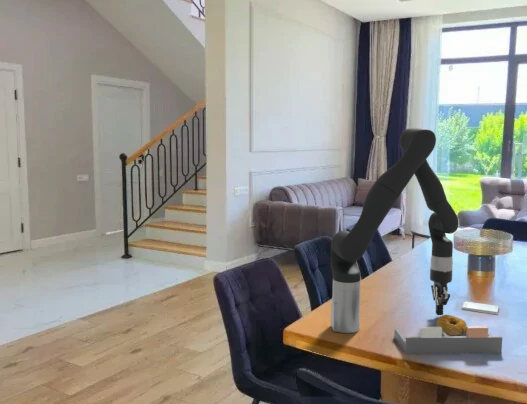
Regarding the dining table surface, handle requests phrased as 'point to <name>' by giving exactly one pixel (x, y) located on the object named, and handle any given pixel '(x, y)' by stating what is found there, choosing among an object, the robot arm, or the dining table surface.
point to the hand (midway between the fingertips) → (439, 314)
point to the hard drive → (480, 307)
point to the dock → (450, 342)
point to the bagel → (452, 325)
